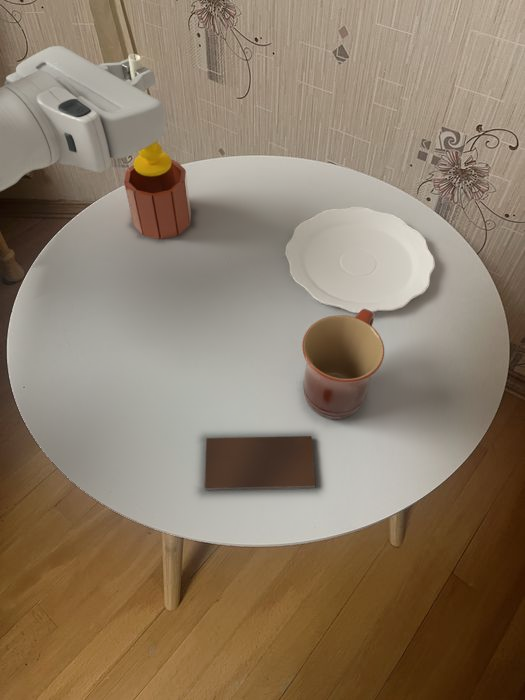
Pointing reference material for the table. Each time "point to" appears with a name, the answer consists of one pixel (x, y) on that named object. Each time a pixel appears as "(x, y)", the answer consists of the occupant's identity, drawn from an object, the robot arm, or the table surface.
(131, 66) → the candle
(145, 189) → the holder cup
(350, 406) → the mug
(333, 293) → the plate
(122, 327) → the table surface
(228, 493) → the table surface
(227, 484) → the walnut mat
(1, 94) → the robot arm
